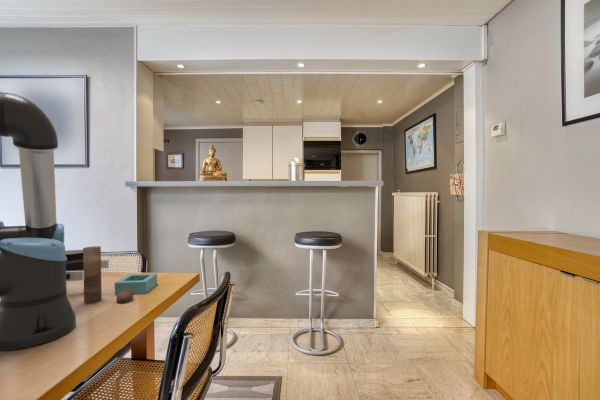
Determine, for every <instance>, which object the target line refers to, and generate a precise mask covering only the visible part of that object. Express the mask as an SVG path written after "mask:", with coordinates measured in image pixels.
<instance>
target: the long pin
mask: <svg viewBox="0 0 600 400" xmlns="http://www.w3.org/2000/svg"><path fill="white" fill-rule="evenodd" d="M101 247H102V246H99V245H97V246H85V247H83V248H82V250H83V269H84V280H83V303H84V304H85V305H86V304H88V305H89V304H94V303H99V302H100V301H102V298H103V297H102V268H101V260H102V249H101Z"/></svg>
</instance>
